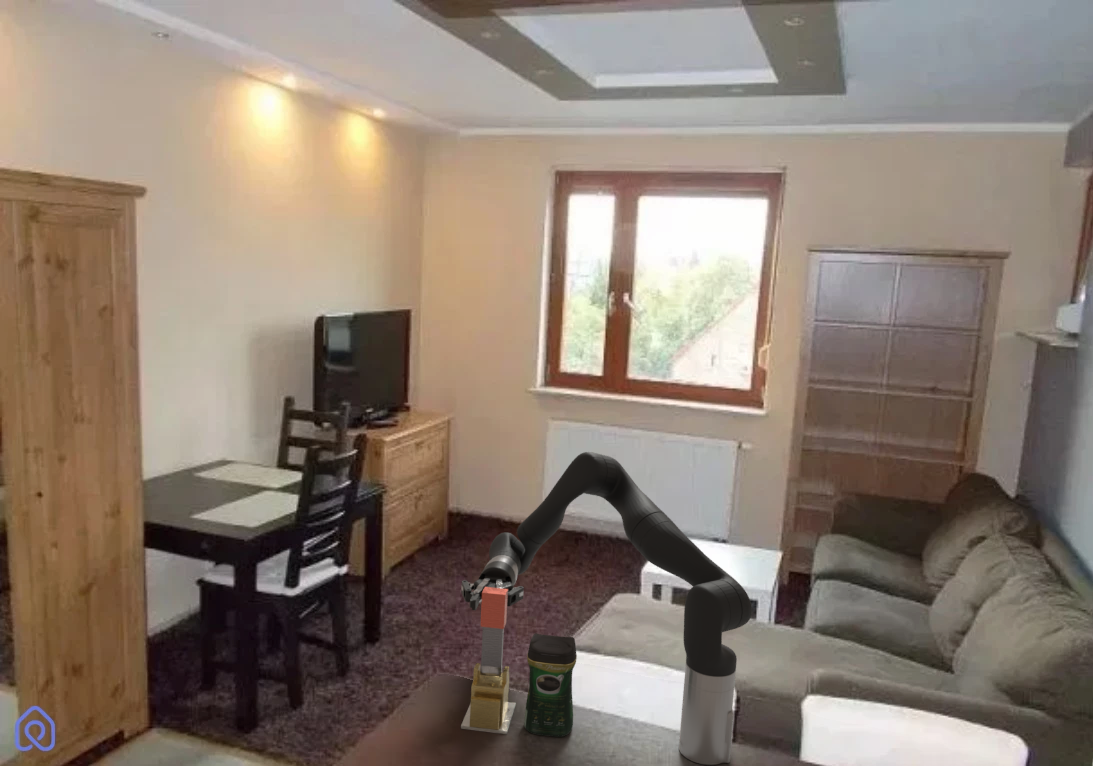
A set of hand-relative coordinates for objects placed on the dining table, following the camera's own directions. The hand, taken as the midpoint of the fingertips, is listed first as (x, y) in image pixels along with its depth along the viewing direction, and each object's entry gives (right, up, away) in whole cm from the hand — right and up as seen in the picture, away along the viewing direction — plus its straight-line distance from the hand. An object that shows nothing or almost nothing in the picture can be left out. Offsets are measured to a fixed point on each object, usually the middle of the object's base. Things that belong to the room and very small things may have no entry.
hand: (483, 606), depth 163 cm
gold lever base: (+1, -22, 0) cm, 22 cm away
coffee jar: (+13, -23, -2) cm, 27 cm away
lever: (+2, -13, -1) cm, 14 cm away
